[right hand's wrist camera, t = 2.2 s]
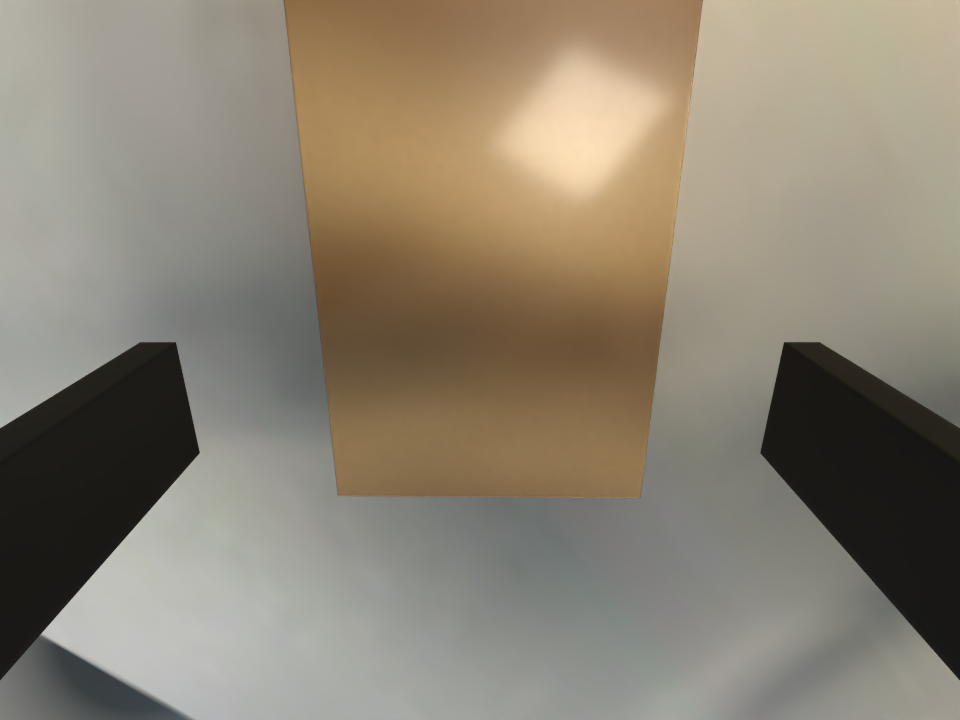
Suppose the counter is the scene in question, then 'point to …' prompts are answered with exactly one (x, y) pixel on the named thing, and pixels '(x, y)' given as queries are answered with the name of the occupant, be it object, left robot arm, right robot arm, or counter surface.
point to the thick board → (491, 235)
